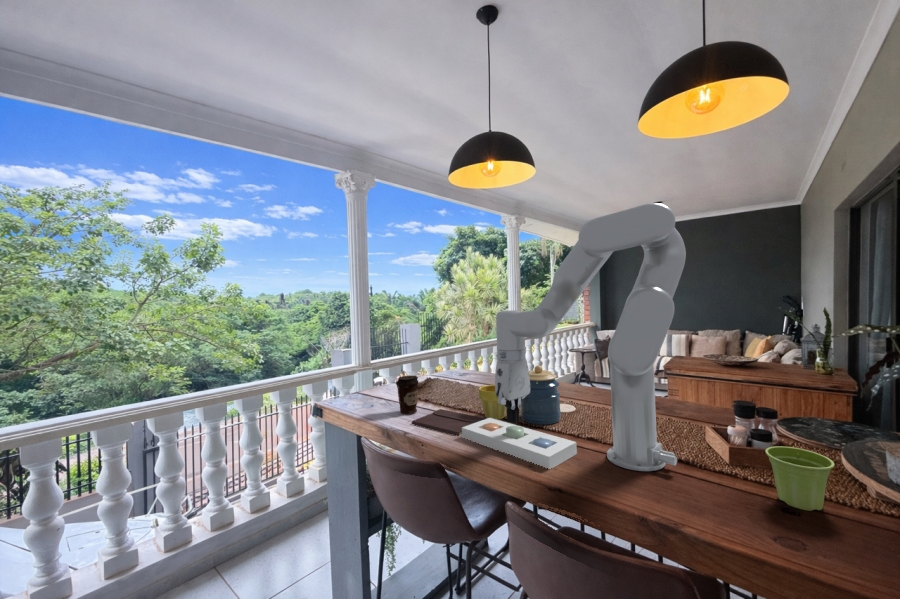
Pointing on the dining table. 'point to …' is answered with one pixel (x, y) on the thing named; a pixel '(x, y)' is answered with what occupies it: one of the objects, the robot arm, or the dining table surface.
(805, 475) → the plant pot
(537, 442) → the slate button
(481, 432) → the button panel
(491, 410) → the plant pot
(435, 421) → the notebook
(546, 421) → the canister
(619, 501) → the dining table surface
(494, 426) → the rust button
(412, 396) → the coffee cup
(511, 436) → the sage button
